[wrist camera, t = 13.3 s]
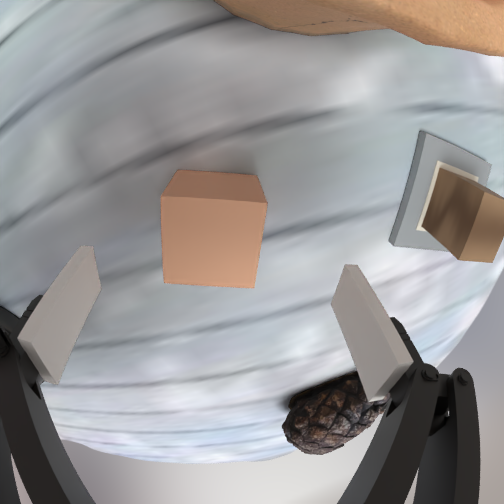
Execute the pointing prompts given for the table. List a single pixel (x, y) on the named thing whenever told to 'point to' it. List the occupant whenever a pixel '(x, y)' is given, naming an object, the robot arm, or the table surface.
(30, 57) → the table surface
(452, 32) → the pottery
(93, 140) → the table surface
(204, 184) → the terracotta cube
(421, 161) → the pad
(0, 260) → the table surface
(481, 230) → the walnut cube
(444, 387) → the robot arm
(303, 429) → the pine cone
